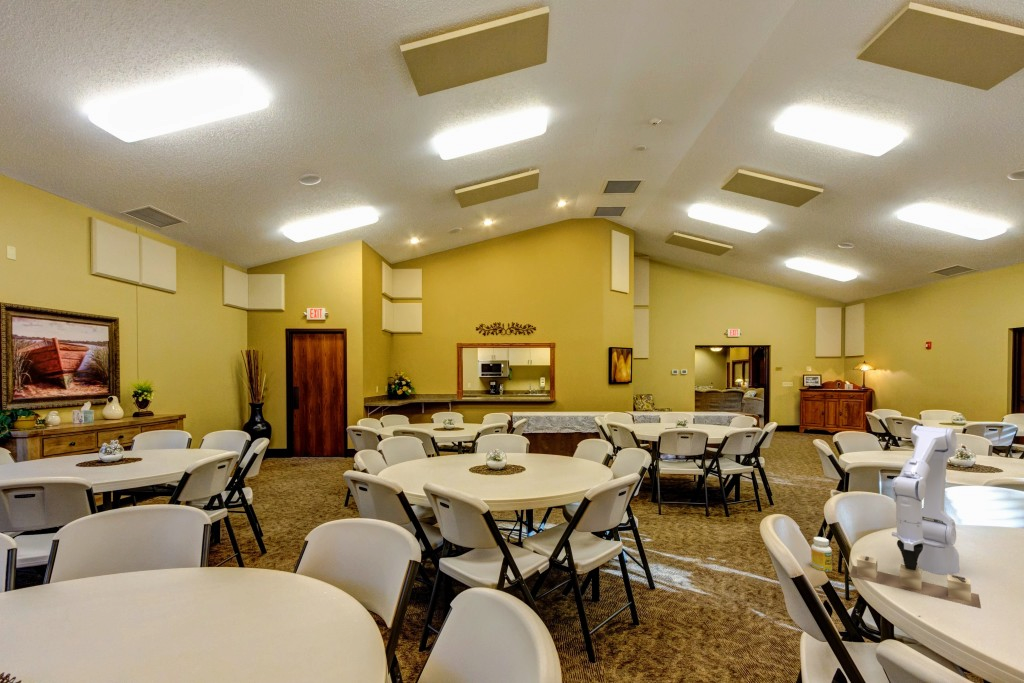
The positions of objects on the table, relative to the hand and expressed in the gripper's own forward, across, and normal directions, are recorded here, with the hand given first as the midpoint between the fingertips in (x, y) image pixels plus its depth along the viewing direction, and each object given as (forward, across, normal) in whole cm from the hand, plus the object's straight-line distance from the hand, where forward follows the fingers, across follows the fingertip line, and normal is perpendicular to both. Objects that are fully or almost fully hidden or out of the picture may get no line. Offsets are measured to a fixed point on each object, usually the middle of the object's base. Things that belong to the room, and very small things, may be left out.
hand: (910, 569), depth 137 cm
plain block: (+4, 0, 0) cm, 4 cm away
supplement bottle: (+6, +3, -21) cm, 22 cm away
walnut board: (+5, 0, 0) cm, 5 cm away
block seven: (+4, 0, +10) cm, 11 cm away
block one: (+4, 0, -10) cm, 11 cm away
